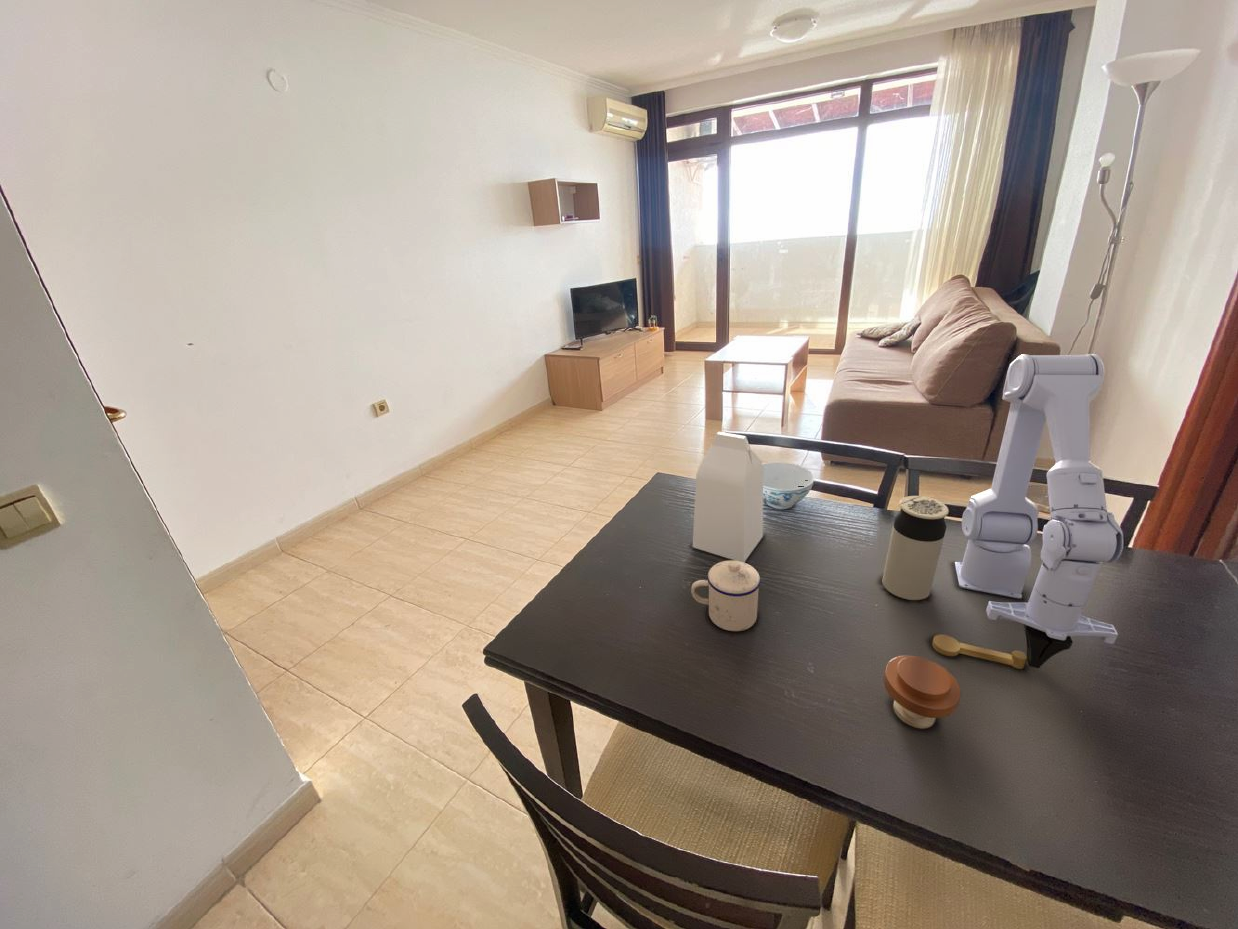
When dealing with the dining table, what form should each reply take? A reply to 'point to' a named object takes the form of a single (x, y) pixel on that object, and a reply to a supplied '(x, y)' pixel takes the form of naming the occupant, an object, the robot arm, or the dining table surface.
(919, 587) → the travel mug
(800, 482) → the chinaware
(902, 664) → the mushroom
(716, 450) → the milk
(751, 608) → the teacup with lid
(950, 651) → the spoon
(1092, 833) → the dining table surface
